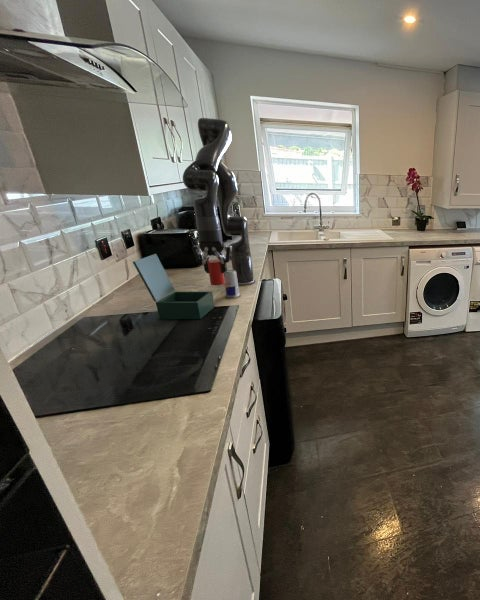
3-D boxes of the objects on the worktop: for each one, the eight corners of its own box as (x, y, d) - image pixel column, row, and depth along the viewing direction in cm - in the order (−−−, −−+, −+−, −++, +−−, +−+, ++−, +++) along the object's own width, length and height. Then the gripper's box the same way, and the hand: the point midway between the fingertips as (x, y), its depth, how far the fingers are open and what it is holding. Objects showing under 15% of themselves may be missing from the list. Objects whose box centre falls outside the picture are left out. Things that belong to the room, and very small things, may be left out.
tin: (214, 281, 127) (210, 259, 124) (227, 281, 128) (224, 259, 125) (208, 285, 123) (204, 262, 120) (222, 285, 123) (218, 262, 120)
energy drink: (223, 296, 146) (219, 271, 142) (234, 293, 150) (230, 268, 146) (231, 299, 144) (227, 273, 140) (242, 295, 148) (238, 270, 144)
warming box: (214, 306, 135) (212, 291, 133) (200, 319, 123) (197, 302, 121) (177, 306, 133) (174, 291, 131) (159, 319, 122) (155, 302, 119)
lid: (156, 253, 125) (154, 254, 125) (134, 261, 113) (132, 262, 113) (175, 290, 131) (173, 290, 131) (156, 301, 119) (154, 301, 119)
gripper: (233, 227, 122) (239, 270, 128) (193, 226, 121) (201, 270, 127) (225, 230, 115) (232, 275, 121) (182, 229, 114) (191, 275, 120)
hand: (216, 272), depth 124 cm, fingers closed on tin, 5 cm apart
